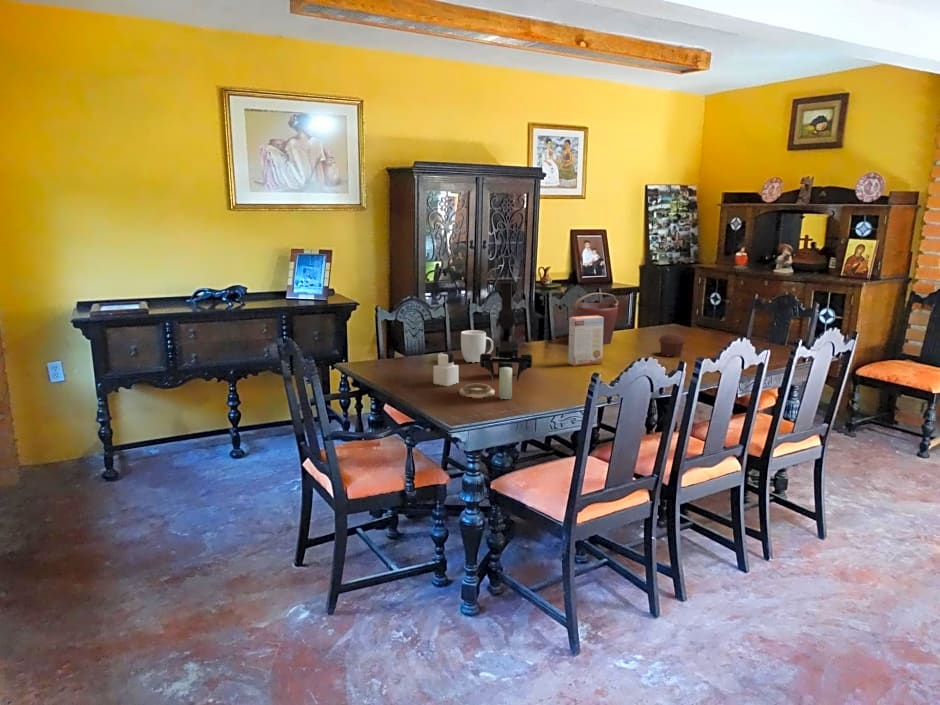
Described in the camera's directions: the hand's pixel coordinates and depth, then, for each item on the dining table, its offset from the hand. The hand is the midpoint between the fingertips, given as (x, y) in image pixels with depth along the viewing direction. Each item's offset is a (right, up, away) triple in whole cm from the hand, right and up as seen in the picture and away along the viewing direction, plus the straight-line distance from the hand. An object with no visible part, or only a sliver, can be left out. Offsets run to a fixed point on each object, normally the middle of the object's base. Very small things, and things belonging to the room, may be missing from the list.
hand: (505, 380), depth 243 cm
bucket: (+51, +15, +103) cm, 116 cm away
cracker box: (+38, +5, +55) cm, 67 cm away
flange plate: (-10, -5, +9) cm, 14 cm away
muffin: (+81, +9, +74) cm, 110 cm away
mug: (-10, +6, +60) cm, 61 cm away
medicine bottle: (-22, -2, +22) cm, 31 cm away
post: (0, -6, +2) cm, 7 cm away
